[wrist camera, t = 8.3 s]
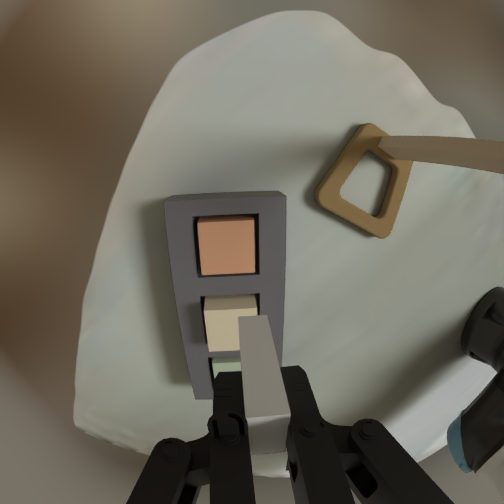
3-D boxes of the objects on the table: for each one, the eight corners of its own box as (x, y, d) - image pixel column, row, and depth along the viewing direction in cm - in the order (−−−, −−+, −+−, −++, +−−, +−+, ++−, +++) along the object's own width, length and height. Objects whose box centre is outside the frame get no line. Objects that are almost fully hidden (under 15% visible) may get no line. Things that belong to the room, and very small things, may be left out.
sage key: (254, 345, 33) (256, 361, 30) (254, 373, 35) (257, 389, 32) (212, 347, 33) (212, 363, 30) (216, 376, 34) (216, 392, 32)
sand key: (254, 293, 29) (257, 307, 26) (254, 332, 31) (257, 349, 28) (205, 295, 29) (203, 310, 26) (210, 334, 30) (209, 351, 28)
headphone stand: (309, 200, 29) (456, 297, 9) (351, 113, 27) (525, 84, 6) (380, 239, 32) (519, 339, 11) (417, 161, 29) (574, 196, 8)
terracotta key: (251, 213, 28) (254, 220, 25) (252, 260, 29) (255, 272, 27) (200, 215, 27) (197, 222, 25) (204, 263, 29) (201, 274, 26)
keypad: (171, 195, 28) (163, 201, 24) (278, 190, 29) (286, 196, 25) (197, 379, 36) (195, 399, 33) (275, 374, 37) (279, 394, 33)
